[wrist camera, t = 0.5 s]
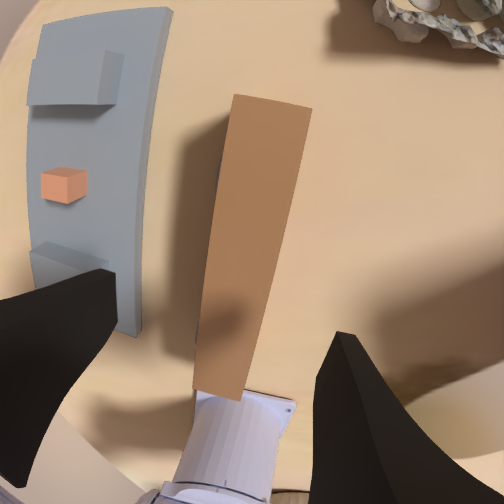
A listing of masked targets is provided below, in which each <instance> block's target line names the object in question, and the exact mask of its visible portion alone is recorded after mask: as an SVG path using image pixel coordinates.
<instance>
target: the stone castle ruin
mask: <svg viewBox="0 0 504 504" xmlns="http://www.w3.org/2000/svg"><path fill="white" fill-rule="evenodd" d="M409 1H410V2H411V4H412V5H413V6H415V7H416V8H418V9H419V10H422V11H425V12H432V11H433V12H434V11H436V10H437V9H438V8H439V7H440V4H441V0H409ZM455 1H456V3H457V6H458V7H459V9H460V11H461V12H462V13H463V14H464V15H465V16H467V17H468V18H470V19H471V20H474V21H483V20H485V19H487V18H490V17H492V16H494V15H497V14H498V13H499V16H500V18H501V20H502V21H503V23H504V0H503V1H502V0H455ZM372 12H373V17H374V21H375V23H378V24H381V25H383V26H386V27H388V28H389V29H391V30H392V31H393V32H394V34H395V35H396V37H397V39H398V40H399V41H402V42H406V43H421V40H422V39H424V38H425V37H426V36H427V35H428V33H429V29H435V30H438V31H439V32H441V33H442V34H443V35H445V36H446V37H447V39H448V40H449V42H450V43H451V46H452V48H469V49H474V48H476V47H480V48H482V49H485V50H487V51H489V52H491V53H496V56H497V57H500V58H503V59H504V34H502V32H501V31H500V29H499V28H494V27H493V28H492V29H490V30H487V31H485V32H483V33H481V34H478V35H476V34H475V33H474V31H473V30H472V28H471V27H470V26H469V25H468V26H463V25H461V24H460V23H459V22H458V21H457V20H456V19H454V18H449V17H447V15H446V14H441V15H439V16H436V17H433V16H432V15H429V14H426V13H422V12H414V11H407V10H403V9H400V8H398V7H397V6H396V5H395V4H394V3H393V2H392V0H377V1H376V2H375V3H374V6H373V7H372Z"/></svg>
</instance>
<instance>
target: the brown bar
mask: <svg viewBox="0 0 504 504" xmlns="http://www.w3.org/2000/svg"><path fill="white" fill-rule="evenodd" d="M311 113H312V109H311V108H307V107H302V106H298V105H293V104H289V103H284V102H279V101H274V100H268V99H263V98H257V97H251V96H245V95H239V94H234V96H233V101H232V107H231V112H230V117H229V123H228V128H227V134H226V140H225V145H224V151H223V154H222V157H221V160H220V164H219V169H218V174H217V182H216V200H215V207H214V213H213V220H212V227H211V234H210V241H209V248H208V255H207V262H206V270H205V278H204V285H203V293H202V302H201V310H200V318H199V322H198V327H197V332H196V355H195V365H194V375H193V385H192V389H195V390H198V391H202V392H205V393H209V394H212V395H216V396H219V397H223V398H227V399H231V400H235V401H239V402H240V401H241V398H242V394H243V391H244V387H245V383H246V380H247V376H248V372H249V369H250V365H251V361H252V358H253V354H254V350H255V346H256V343H257V339H258V335H259V331H260V327H261V323H262V320H263V316H264V312H265V308H266V304H267V300H268V296H269V292H270V288H271V284H272V280H273V277H274V273H275V268H276V264H277V260H278V256H279V252H280V248H281V244H282V240H283V236H284V232H285V228H286V223H287V219H288V215H289V211H290V206H291V202H292V198H293V194H294V189H295V185H296V181H297V176H298V172H299V168H300V163H301V159H302V154H303V150H304V145H305V141H306V136H307V132H308V127H309V122H310V118H311Z"/></svg>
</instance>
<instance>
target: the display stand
mask: <svg viewBox="0 0 504 504" xmlns="http://www.w3.org/2000/svg"><path fill="white" fill-rule="evenodd" d="M172 15H173V11H172V10H171V9H169V8H168V7H150V8H137V9H127V10H118V11H110V12H103V13H97V14H91V15H85V16H80V17H75V18H70V19H65V20H61V21H57V22H52V23H48V24H45V25H43V26H42V31H41V35H40V40H39V44H38V49H37V55H36V59H33V60H32V66H31V72H30V79H29V86H28V95H27V104H26V106H29V115H28V130H27V163H26V168H27V202H28V217H29V228H30V238H31V247H32V250H31V251H29V252H30V259H31V266H32V272H33V278H34V283H35V287H36V288H38V289H40V288H43V287H46V286H49V285H52V284H54V283H57V282H60V281H63V280H65V279H68V278H71V277H74V276H77V275H80V274H82V273H85V272H89V271H92V270H95V269H100V268H102V269H105V270H108V271H111V272H115V273H116V295H117V313H118V323H117V325H116V326H115V328H114V330H116V331H119V332H121V333H124V334H127V335H130V336H132V337H135V338H136V337H137V336H138V334H139V333H140V332H141V330H142V325H141V255H142V229H143V211H144V196H145V184H146V173H147V163H148V153H149V144H150V136H151V128H152V121H153V114H154V107H155V101H156V94H157V88H158V83H159V77H160V71H161V66H162V61H163V56H164V51H165V46H166V41H167V37H168V32H169V28H170V24H171V19H172Z"/></svg>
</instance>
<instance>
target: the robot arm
mask: <svg viewBox="0 0 504 504" xmlns="http://www.w3.org/2000/svg"><path fill="white" fill-rule="evenodd" d="M117 323H118V313H117V295H116V273H115V272H111V271H108V270H105V269H102V268H100V269H95V270H92V271H89V272H85V273H82V274H80V275H77V276H74V277H71V278H68V279H65V280H63V281H60V282H57V283H54V284H52V285H49V286H46V287H43V288H40V289H37V290H34V291H31V292H28V293H24V294H21V295H18V296H15V297H11V298H7V299H3V300H0V476H2V477H3V478H4V479H5V480H7V481H8V482H9V483H10V484H12V485H13V486H14V487H16V488H24V487H26V485H27V480H28V477H29V474H30V471H31V468H32V465H33V462H34V459H35V456H36V454H37V451H38V449H39V447H40V444H41V442H42V439H43V437H44V435H45V433H46V431H47V429H48V427H49V425H50V423H51V420H52V419H53V417H54V415H55V413H56V411H57V410H58V408H59V406H60V404H61V403H62V401H63V399H64V397H65V396H66V394H67V393H68V391H69V390H70V389H71V387H72V386H73V385H74V383H75V382H76V381H77V379H78V378H79V377H80V376H81V374H82V373H83V372H84V370H85V369H86V368H87V367H88V365H89V364H90V363H91V362H92V360H93V359H94V358H95V357H96V355H97V354H98V353H99V351H100V350H101V349H102V348H103V346H104V345H105V343H106V342H107V340H108V338H109V337H110V335H111V334H112V332H113V330H114V328H115V326H116V325H117ZM295 408H296V402H295V401H293V400H288V399H283V398H278V397H274V396H269V395H265V394H260V393H256V392H252V391H247V390H244V391H243V394H242V398H241V401H240V402H239V401H235V400H231V399H227V398H223V397H219V396H216V395H212V394H209V393H205V392H202V391H198V390H197V395H196V404H195V414H194V424H193V428H192V430H191V433H190V436H189V438H188V441H187V444H186V446H185V449H184V451H183V454H182V457H181V459H180V462H179V465H178V467H177V470H176V473H175V475H174V478H173V480H172V482H168V481H165V482H164V484H163V487H162V489H161V491H160V490H157V489H153V490H151V491H149V492H148V493H146V494H144V495H142V496H141V497H140V498H139V499H138V500H137V502H136V503H135V504H271V503H270V497H271V491H272V485H273V479H274V472H275V466H276V459H277V452H278V445H279V440H280V438H281V436H282V434H283V432H284V430H285V428H286V426H287V424H288V422H289V420H290V418H291V416H292V414H293V412H294V410H295ZM0 504H24V503H22V502H21V501H20V500H18V499H17V498H16V497H14V496H13V495H12V494H10V493H9V492H8V491H7V490H5V489H4V488H3V487H1V486H0ZM308 504H504V496H503V495H502V494H500V493H498V492H497V491H495V490H493V489H492V488H490V487H489V486H487V485H485V484H484V483H482V482H481V481H479V480H478V479H476V478H475V477H473V476H472V475H471V474H470V473H468V472H467V471H466V470H464V469H463V468H462V467H460V466H459V465H458V464H457V463H456V462H455V461H453V460H452V459H451V458H450V457H449V456H448V455H447V454H445V453H444V452H443V451H442V450H441V449H440V448H439V447H438V446H437V445H436V444H435V443H434V442H433V441H432V440H431V439H430V438H429V437H428V436H427V435H426V434H425V433H424V432H423V430H422V429H421V428H420V427H419V426H418V425H417V423H416V422H415V421H414V420H413V419H412V418H411V416H410V415H409V414H408V413H407V411H406V410H405V409H404V407H403V406H402V405H401V403H400V402H399V401H398V399H397V398H396V397H395V395H394V394H393V392H392V391H391V390H390V388H389V387H388V385H387V384H386V382H385V381H384V379H383V378H382V376H381V375H380V373H379V371H378V370H377V368H376V367H375V365H374V364H373V362H372V360H371V359H370V357H369V356H368V354H367V352H366V351H365V349H364V348H363V346H362V344H361V343H360V341H359V340H358V338H357V337H356V335H353V334H348V333H344V332H339V331H337V332H336V334H335V336H334V339H333V341H332V343H331V346H330V348H329V350H328V352H327V355H326V357H325V359H324V361H323V363H322V366H321V368H320V370H319V372H318V374H317V376H316V383H315V391H314V400H313V469H312V480H311V486H310V493H309V499H308Z"/></svg>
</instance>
